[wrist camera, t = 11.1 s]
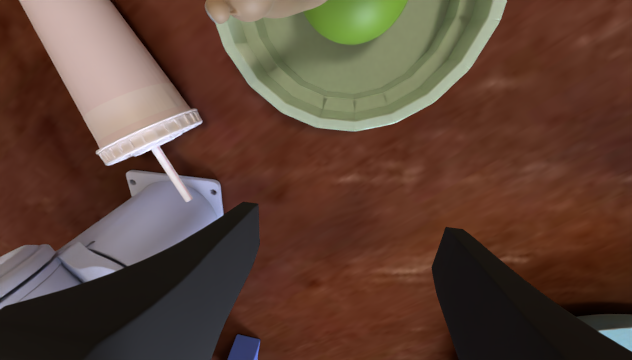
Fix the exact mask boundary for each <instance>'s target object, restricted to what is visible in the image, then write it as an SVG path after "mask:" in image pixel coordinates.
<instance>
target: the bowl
mask: <svg viewBox="0 0 632 360" xmlns="http://www.w3.org/2000/svg"><path fill="white" fill-rule="evenodd" d="M506 2H507V0H408V2H407V4H406V6H405V8H404V10H403V12H402V13H401V15H400V16H399V18H398V19H397V20H396V21H395V23H394V24H393V25H392V26H391V27H390V28H389V29H388V30H387V31H385V32H384V33H383V34H381V35H380V36H378V37H377V38H375V39H373V40H371V41H368V42H365V43H361V44H354V45H347V44H340V43H336V42H333V41H331V40H329V39H327V38H325V37H324V36H322V35H321V34H320V33H318V32H317V31H316V30H315V29H314V28H313V27H312V25H311V24H310V23H309V21H308V20H307V18H306V17H305V15H304V13H303V12H300V13H297V14H294V15H291V16H288V17H284V18H265V17H263V18H261V19H259V20H257V21H253V22H244V21H240V20H238V19H236V18H235V17H233V16H232V15H230V16H229V19H228V20H227V21H226V22H225V23H223V24H218V23H216V26H217V29H218V32H219V35H220V38H221V40H222V43H223V46H224V48H225V50H226V52H227V53H228V55H229V56H230V58H231V59H232V61H233V62H234V64H235V65H236V66H237V68H238V69H239V71H240V72H241V74H242V75H243V77H244V78H245V80H246V81H247V83H248V84H249V85H250V86H251V87H252V88H253V89H254V90H255V91H256V92H258V93H259V94H260V95H261V96H262V97H263V98H265V99H266V100H267V101H268V102H269V103H271V104H272V105H273V106H274V107H275V108H277V109H278V110H279V111H280V112H282V113H283V114H286V115H288V116H290V117H293V118H295V119H297V120H300V121H302V122H304V123H307V124H309V125H311V126H314V127H317V128H324V129H334V130H344V131H361V130H366V129H371V128H375V127H380V126H385V125H390V124H394V123H397V122H399V121H401V120H402V119H404V118H406V117H408V116H410V115H412V114H414V113H416V112H418V111H419V110H421V109H423V108H425V107H427V106H429V105H431V104H432V103H433V102H435V101H436V100H437V99H439V98H440V97H441V96H442V95H443V94H444V93H445V92H446V91H447V90H448V89H449V88H450V87H451V86H452V85H453V84H454V83H456V82H457V81H458V80H459V79H460V78H461V77H462V76H463V75H464V74H465V73H466V72H467V71H468V70H469V68H471V67H472V65H473V63H474V62H475V60H476V59H477V57H478V55H479V54H480V52H481V51H482V49H483V48H484V46H485V44H486V43H487V41H488V40H489V38H490V36H491V35H492V33H493V32H494V30H495V29H496V27H497V25H498V24H499V22H500V21H499V20H501V17H502V14H503V11H504V8H505V5H506Z"/></svg>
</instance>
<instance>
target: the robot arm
mask: <svg viewBox="0 0 632 360" xmlns="http://www.w3.org/2000/svg"><path fill="white" fill-rule="evenodd" d="M178 176H179V177H180V179H181V180H182V182H183V183H184V185H185V186H186V188H187V189H188V191H189V193H190V194H191V196H192V197H193V199H192V200H190V201H188V202H185V200H184V199H183V197H182V196H181V194H180V193H179V191H178V190H177V188H176V187H175V185H174V184H173V182H172V181H171V179H170V178H169V176H168V175H167V174H164V173H156V172H147V171H139V170H130V171H128V172H127V173H126V178H127V181H128V185H129V188H130V192H131V196H132V198H130V199H129V200H127V201H126V202H125V203H123V204H122V205H120V206H119V207H118V208H116V209H115V210H113V211H112V212H111V213H109V214H108V215H106V216H105V217H104V218H102V219H101V220H100V221H98V222H97V223H95V224H94V225H93V226H91V227H90V228H88V229H87V230H86V231H84V232H83V233H81V234H80V235H79V236H77V237H76V238H74V239H73V240H72V241H70V242H69V243H67V244H66V245H65V246H63V247H62V248H60V249H59V250H57V251H54V250H53V249H52V247H51V246H50V245H48V244H43V245H39V246H38V245H24V246H22V247H19V248H17V249H15V250H13V251H11V252H9V253H7V254H5V255H3V256H2V257H0V360H211V357H212V355H213V352H214V349H215V347H216V344H217V341H218V339H219V336H220V333H221V331H222V329H223V326H224V324H225V322H226V319H227V317H228V315H229V313H230V311H231V309H232V307H233V305H234V303H235V301H236V299H237V297H238V295H239V293H240V291H241V289H242V287H243V285H244V283H245V281H246V279H247V277H248V274H249V272H250V270H251V268H252V266H253V263H254V260H255V257H256V254H257V251H258V248H259V245H260V239H259V210H258V204H256V203H248V202H242V203H241V204H239V205H238V206H236V207H235V208H233V209H232V210H230V211H229V212H227V213H226V214H224V213H223V204H222V194H221V185H220V183H219V182H218V181H217V180H214V179H206V178H198V177H189V176H181V175H178ZM133 180H134V181H135V182H136V183H135V182H134V181H133ZM212 189H213V190H215V191H216V192H217V193H215V192H214V191H213V190H212ZM432 273H433V278H434V284H435V289H436V293H437V296H438V300H439V303H440V306H441V309H442V312H443V315H444V317H445V320H446V323H447V326H448V329H449V332H450V335H451V338H452V341H453V344H454V347H455V350H456V353H457V356H458V359H459V360H632V351H630V350H628V349H627V348H625V347H623V346H622V345H620V344H618V343H617V342H615V341H613V340H612V339H610V338H608V337H607V336H605V335H603V334H602V333H600V332H599V331H597V330H595V329H594V328H592V327H591V326H589V325H588V324H586V323H584V322H583V321H581V320H580V319H578V318H577V317H575V316H574V315H573V314H571V313H570V312H568V311H567V310H565V309H564V308H562V307H561V306H559V305H558V304H556V303H555V302H554V301H552V300H551V299H549V298H548V297H547V296H545V295H544V294H543V293H541V292H540V291H539V290H537V289H536V288H535V287H533V286H532V285H531V284H529V283H528V282H527V281H525V280H524V279H523V278H522V277H520V276H519V275H518V274H517V273H515V272H514V271H513V270H512V269H510V268H509V267H508V266H507V265H506V264H504V263H503V262H502V261H501V260H500V259H498V258H497V257H496V256H495V255H494V254H492V253H491V252H490V251H489V250H488V249H487V248H485V247H484V246H483V245H482V244H481V243H480V242H478V241H477V240H476V239H475V238H474V237H472V236H471V235H470V234H469V233H467V232H466V231H464V230H463V229H457V228H449V227H446V228H445V231H444V234H443V237H442V240H441V242H440V245H439V248H438V251H437V254H436V257H435V260H434V262H433V265H432Z"/></svg>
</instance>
